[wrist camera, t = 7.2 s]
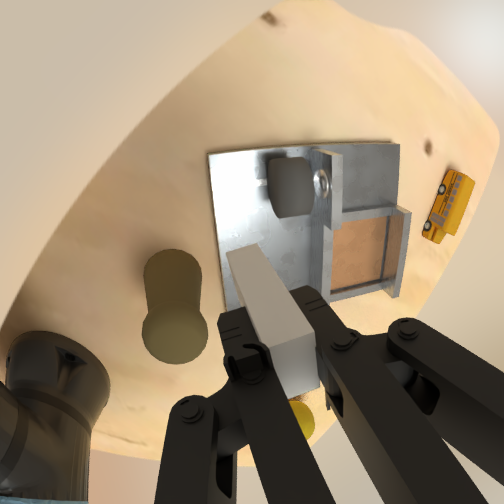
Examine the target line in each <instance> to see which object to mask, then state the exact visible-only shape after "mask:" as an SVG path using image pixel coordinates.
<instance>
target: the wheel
mask: <svg viewBox="0 0 504 504" xmlns="http://www.w3.org/2000/svg"><path fill="white" fill-rule="evenodd" d="M267 183H268V193H269V198H270V202H271V206H272V209H273V211H274V213H275V215H276V216H277V218H279V219H281V218H288V217H296V216H303V215H308V214H310V213H311V211H312V209H313V205H314V199H315V188H314V180H313V175H312V172H311V169H310V166H309V164H308V163H307V161H306V160H305V159H304V158H303V157H288V158H276V159H271V160H270V162H269V165H268V171H267Z"/></svg>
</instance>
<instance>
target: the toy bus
mask: <svg viewBox="0 0 504 504" xmlns="http://www.w3.org/2000/svg"><path fill="white" fill-rule="evenodd" d="M474 185H475V181H474V180H472V179H471V178H470V177H468V176H467V175H465V174H463V173H460V172H457V171H454V170H450V171H449V172H448V173H447V175H446V177H445V179H444V181H443V183H442V185H440V187H439V189H438V193H439V194H438V196H437V198H436V201H435V204H434V206H433V209H432V211H431V214H430V216H429V219H428V221H426V223H425V225H424V231H423V237H425V238H427V239H428V240H431V241H432V242H434V243H437V244H440V242H441V241H442V239H443V238H444V236H445V235H446V233H449V234H451V235H453V236H455V234H456V232H457V229H458V227H459V225H460V222H461V220H462V217H463V215H464V212H465V209H466V207H467V204H468V202H469V199H470V196H471V193H472V191H473V188H474Z"/></svg>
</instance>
